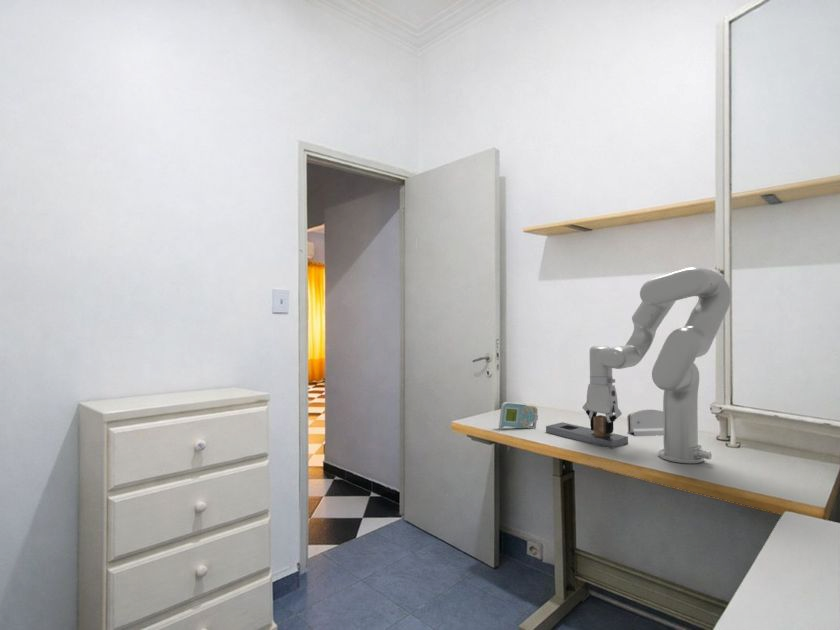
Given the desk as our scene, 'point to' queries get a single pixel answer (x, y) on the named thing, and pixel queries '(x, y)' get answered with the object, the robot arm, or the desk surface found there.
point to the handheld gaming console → (518, 415)
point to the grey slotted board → (586, 435)
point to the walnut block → (600, 426)
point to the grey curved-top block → (645, 423)
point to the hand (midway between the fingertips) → (601, 430)
